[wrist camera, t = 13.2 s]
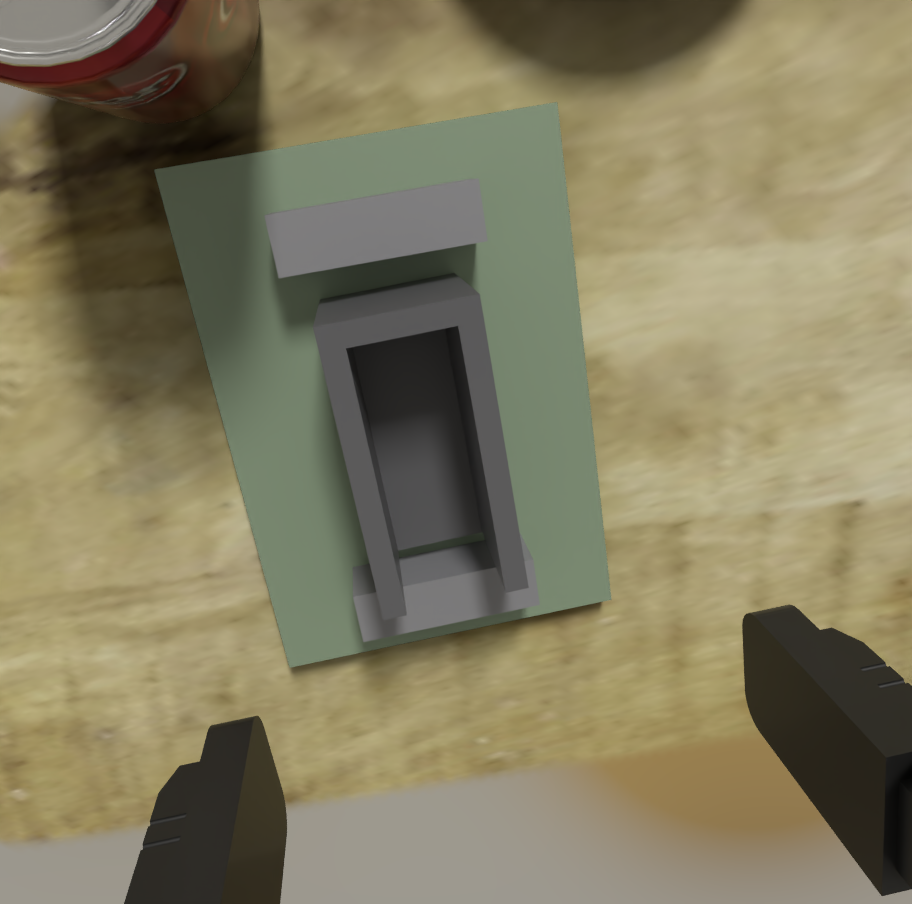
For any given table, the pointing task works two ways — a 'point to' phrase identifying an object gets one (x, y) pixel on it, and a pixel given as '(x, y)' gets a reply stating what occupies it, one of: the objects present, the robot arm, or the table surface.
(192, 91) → the soda can
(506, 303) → the chute mount
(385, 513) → the chute
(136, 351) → the table surface
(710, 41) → the table surface
